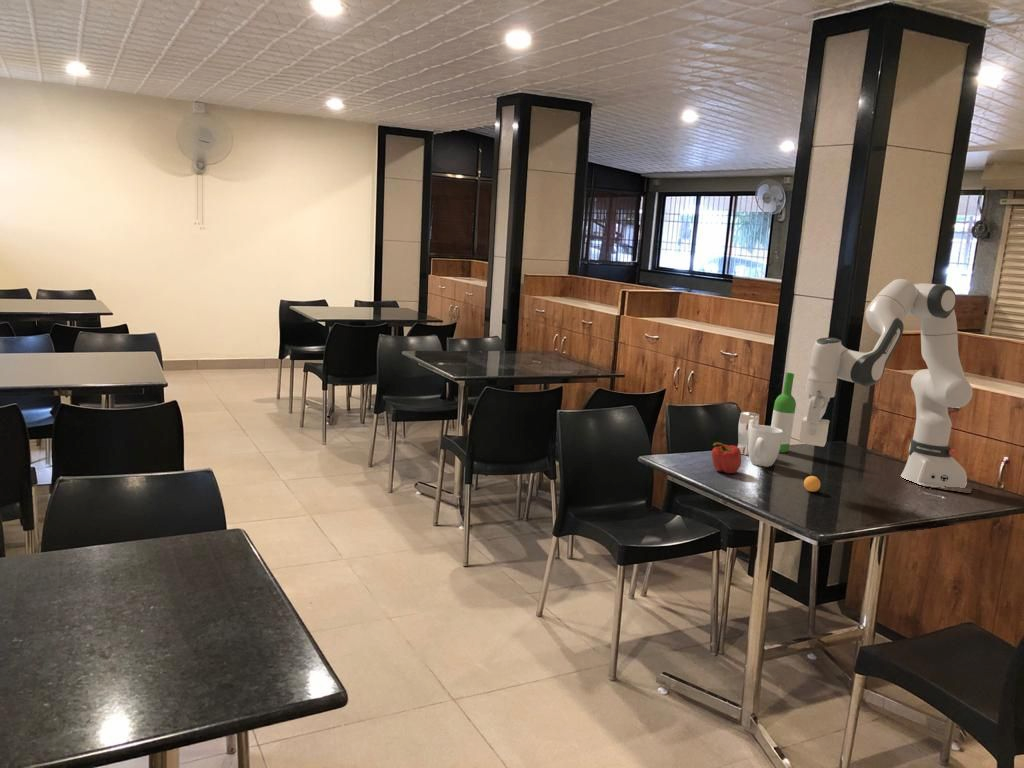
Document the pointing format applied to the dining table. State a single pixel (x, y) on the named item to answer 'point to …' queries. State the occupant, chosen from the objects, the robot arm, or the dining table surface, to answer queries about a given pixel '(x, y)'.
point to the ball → (812, 483)
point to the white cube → (820, 433)
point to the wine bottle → (785, 412)
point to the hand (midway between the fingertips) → (813, 432)
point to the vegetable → (726, 458)
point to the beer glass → (746, 430)
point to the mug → (764, 444)
